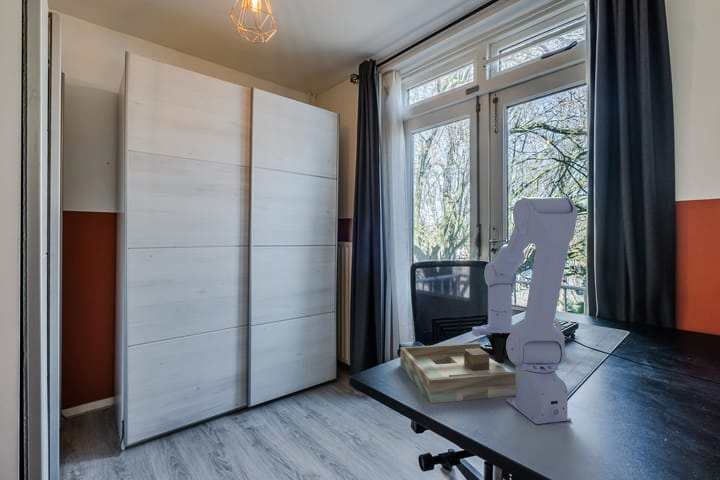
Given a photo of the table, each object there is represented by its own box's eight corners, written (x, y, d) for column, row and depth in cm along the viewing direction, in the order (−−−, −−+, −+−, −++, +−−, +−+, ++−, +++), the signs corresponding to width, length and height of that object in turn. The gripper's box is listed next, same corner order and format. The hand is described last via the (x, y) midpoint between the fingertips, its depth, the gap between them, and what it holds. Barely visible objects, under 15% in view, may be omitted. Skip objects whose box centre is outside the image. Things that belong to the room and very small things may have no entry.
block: (489, 369, 84) (489, 354, 84) (472, 371, 83) (472, 355, 83) (479, 363, 88) (479, 348, 88) (464, 364, 87) (464, 349, 87)
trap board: (529, 394, 76) (529, 372, 76) (430, 403, 72) (430, 380, 71) (478, 359, 97) (478, 342, 97) (400, 365, 93) (400, 347, 93)
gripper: (515, 305, 92) (514, 354, 92) (466, 307, 89) (466, 358, 89) (532, 311, 85) (532, 364, 85) (480, 313, 82) (480, 368, 82)
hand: (499, 361), depth 87 cm, fingers closed
